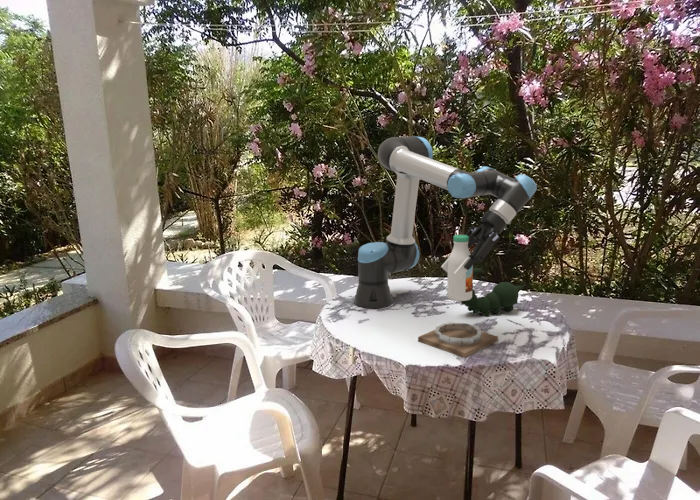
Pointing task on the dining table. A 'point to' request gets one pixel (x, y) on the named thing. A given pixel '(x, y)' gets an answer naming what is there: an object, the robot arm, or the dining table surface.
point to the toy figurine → (493, 298)
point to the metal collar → (458, 341)
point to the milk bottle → (460, 252)
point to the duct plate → (455, 349)
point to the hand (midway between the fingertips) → (450, 272)
